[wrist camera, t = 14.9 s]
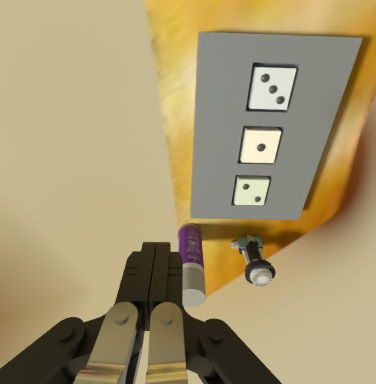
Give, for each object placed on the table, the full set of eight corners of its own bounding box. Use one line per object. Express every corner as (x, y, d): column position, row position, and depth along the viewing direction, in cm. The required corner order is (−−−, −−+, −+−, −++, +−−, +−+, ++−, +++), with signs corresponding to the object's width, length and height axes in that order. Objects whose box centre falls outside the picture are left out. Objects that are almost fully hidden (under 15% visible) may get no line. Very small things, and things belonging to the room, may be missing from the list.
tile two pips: (236, 172, 39) (239, 179, 37) (265, 173, 39) (269, 180, 37) (232, 197, 42) (235, 205, 40) (259, 198, 42) (263, 206, 40)
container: (199, 222, 46) (204, 287, 33) (201, 239, 49) (208, 306, 36) (176, 224, 46) (173, 290, 34) (180, 241, 49) (178, 308, 36)
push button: (229, 250, 50) (238, 290, 42) (229, 232, 48) (239, 271, 39) (260, 248, 50) (275, 288, 42) (261, 229, 47) (278, 268, 39)
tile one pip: (243, 125, 35) (247, 130, 33) (275, 126, 35) (281, 131, 33) (238, 156, 38) (242, 162, 35) (268, 157, 38) (274, 163, 36)
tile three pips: (252, 66, 31) (257, 67, 29) (289, 67, 31) (296, 68, 29) (246, 105, 34) (250, 108, 31) (280, 106, 34) (286, 109, 31)
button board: (198, 33, 30) (199, 31, 27) (348, 39, 30) (363, 37, 28) (190, 208, 44) (190, 218, 42) (292, 210, 45) (298, 220, 42)
